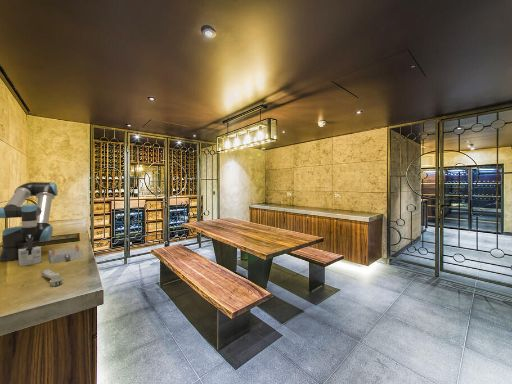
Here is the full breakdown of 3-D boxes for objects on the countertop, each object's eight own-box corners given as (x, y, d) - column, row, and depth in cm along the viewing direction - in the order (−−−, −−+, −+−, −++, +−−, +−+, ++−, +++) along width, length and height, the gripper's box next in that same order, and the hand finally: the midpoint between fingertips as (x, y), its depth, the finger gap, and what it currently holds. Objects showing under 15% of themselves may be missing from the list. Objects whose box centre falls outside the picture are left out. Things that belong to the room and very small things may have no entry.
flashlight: (51, 267, 139) (63, 271, 124) (51, 278, 138) (64, 283, 124) (39, 270, 134) (50, 274, 120) (40, 281, 134) (51, 287, 119)
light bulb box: (39, 260, 163) (39, 245, 163) (41, 262, 159) (41, 247, 159) (18, 264, 154) (17, 249, 154) (20, 266, 151) (19, 250, 150)
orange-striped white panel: (48, 257, 171) (48, 246, 171) (78, 252, 184) (78, 242, 184) (50, 264, 155) (50, 253, 155) (83, 258, 168) (83, 248, 168)
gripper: (21, 225, 162) (22, 254, 163) (21, 229, 145) (21, 262, 145) (36, 224, 168) (36, 252, 168) (37, 228, 150) (37, 259, 150)
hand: (29, 257), depth 157 cm, fingers open, 13 cm apart
